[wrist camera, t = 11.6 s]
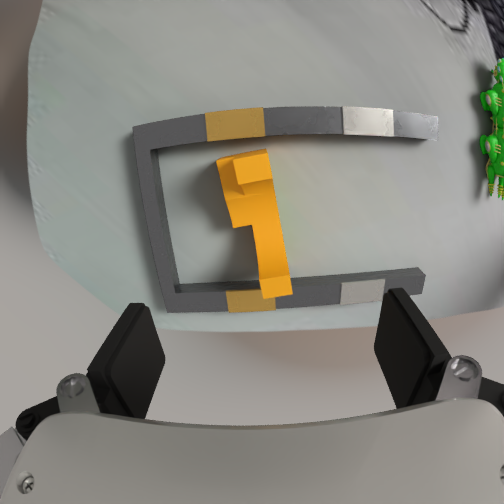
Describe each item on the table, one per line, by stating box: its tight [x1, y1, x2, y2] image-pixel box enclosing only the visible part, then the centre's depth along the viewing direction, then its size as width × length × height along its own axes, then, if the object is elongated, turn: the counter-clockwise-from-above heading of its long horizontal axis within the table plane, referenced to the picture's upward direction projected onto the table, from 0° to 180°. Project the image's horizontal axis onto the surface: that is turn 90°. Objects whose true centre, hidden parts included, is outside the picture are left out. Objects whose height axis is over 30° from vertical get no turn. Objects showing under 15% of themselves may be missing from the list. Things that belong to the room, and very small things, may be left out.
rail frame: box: [133, 106, 438, 313], centre depth 27 cm, size 30×20×2 cm
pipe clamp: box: [216, 149, 293, 299], centre depth 26 cm, size 12×4×6 cm, turn 12°
